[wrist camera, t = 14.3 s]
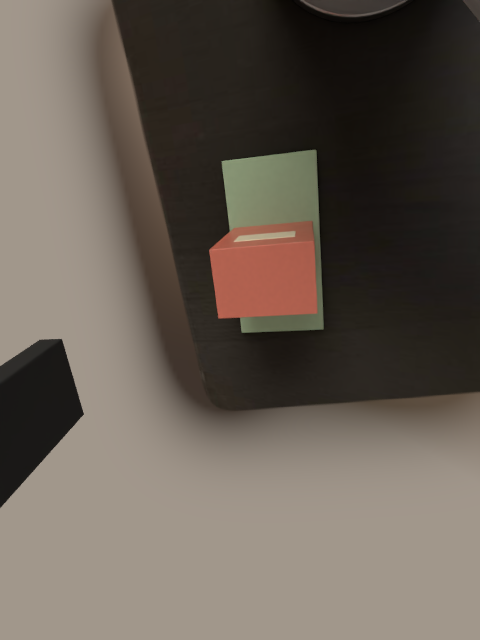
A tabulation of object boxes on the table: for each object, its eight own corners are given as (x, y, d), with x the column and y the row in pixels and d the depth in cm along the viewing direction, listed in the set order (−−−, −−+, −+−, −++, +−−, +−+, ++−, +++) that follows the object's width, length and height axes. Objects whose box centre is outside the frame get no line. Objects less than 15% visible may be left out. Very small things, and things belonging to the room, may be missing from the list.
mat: (223, 161, 35) (221, 161, 34) (316, 149, 34) (316, 149, 33) (242, 330, 41) (241, 333, 40) (323, 326, 39) (323, 329, 38)
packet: (233, 227, 36) (208, 248, 27) (312, 220, 35) (314, 240, 26) (240, 281, 38) (218, 319, 29) (314, 276, 37) (317, 314, 27)
